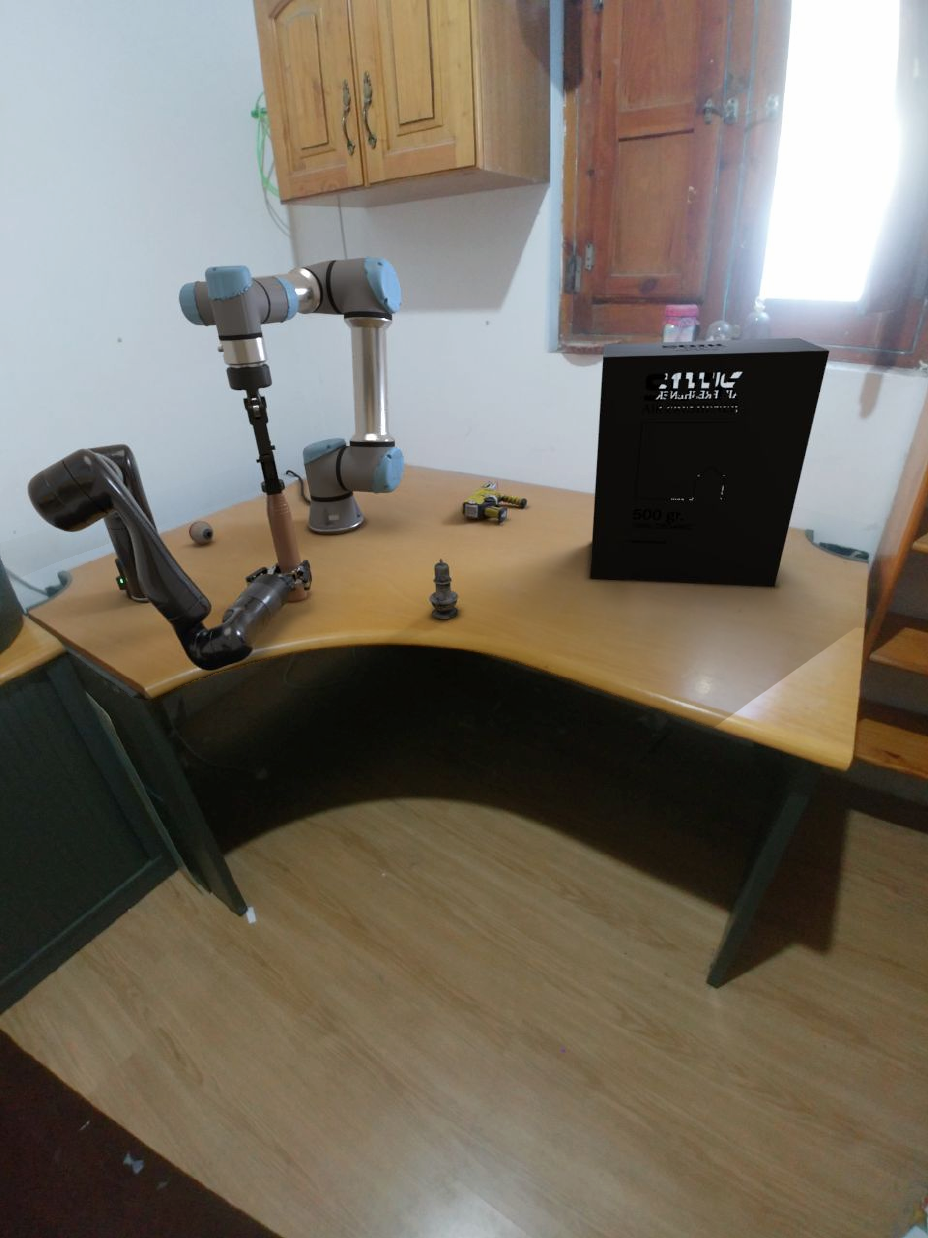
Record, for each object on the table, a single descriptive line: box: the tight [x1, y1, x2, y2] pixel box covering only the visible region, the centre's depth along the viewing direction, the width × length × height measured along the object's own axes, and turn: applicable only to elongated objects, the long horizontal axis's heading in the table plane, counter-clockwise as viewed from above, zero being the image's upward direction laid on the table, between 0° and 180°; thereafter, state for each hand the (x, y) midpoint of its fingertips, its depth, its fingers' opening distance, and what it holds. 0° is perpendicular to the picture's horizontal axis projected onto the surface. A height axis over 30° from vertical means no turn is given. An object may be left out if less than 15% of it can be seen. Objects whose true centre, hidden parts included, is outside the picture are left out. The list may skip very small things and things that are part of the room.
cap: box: [260, 478, 286, 494], centre depth 120 cm, size 4×4×2 cm
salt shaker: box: [428, 558, 459, 620], centre depth 120 cm, size 6×6×12 cm
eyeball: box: [188, 520, 214, 545], centre depth 161 cm, size 6×6×6 cm
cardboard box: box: [589, 337, 830, 587], centre depth 126 cm, size 38×20×45 cm, turn 78°
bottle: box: [265, 490, 308, 602], centre depth 126 cm, size 5×5×25 cm
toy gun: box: [461, 480, 528, 523], centre depth 173 cm, size 5×24×15 cm
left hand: (295, 563), depth 131 cm, fingers closed on bottle, 4 cm apart
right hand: (273, 488), depth 120 cm, fingers open, 6 cm apart
